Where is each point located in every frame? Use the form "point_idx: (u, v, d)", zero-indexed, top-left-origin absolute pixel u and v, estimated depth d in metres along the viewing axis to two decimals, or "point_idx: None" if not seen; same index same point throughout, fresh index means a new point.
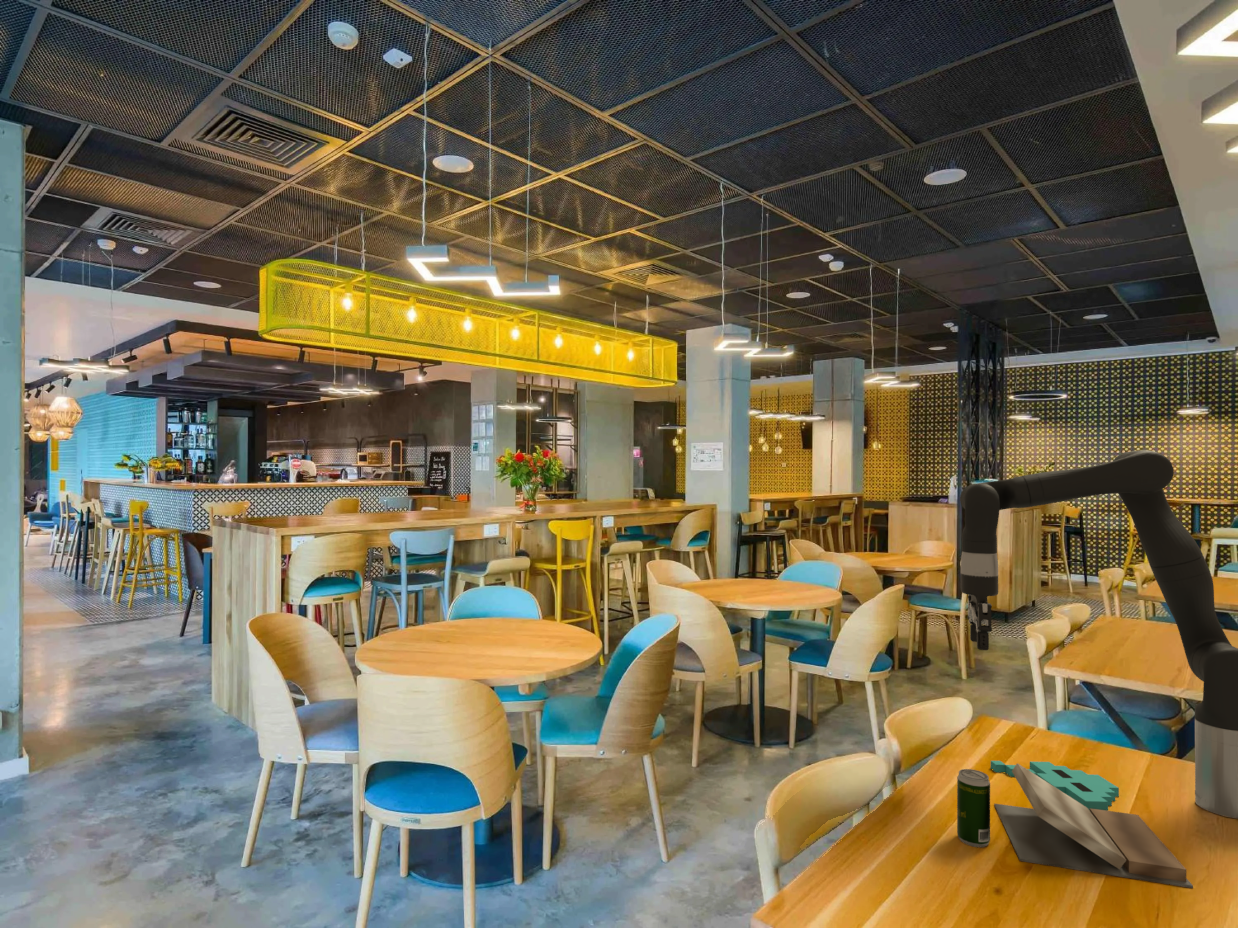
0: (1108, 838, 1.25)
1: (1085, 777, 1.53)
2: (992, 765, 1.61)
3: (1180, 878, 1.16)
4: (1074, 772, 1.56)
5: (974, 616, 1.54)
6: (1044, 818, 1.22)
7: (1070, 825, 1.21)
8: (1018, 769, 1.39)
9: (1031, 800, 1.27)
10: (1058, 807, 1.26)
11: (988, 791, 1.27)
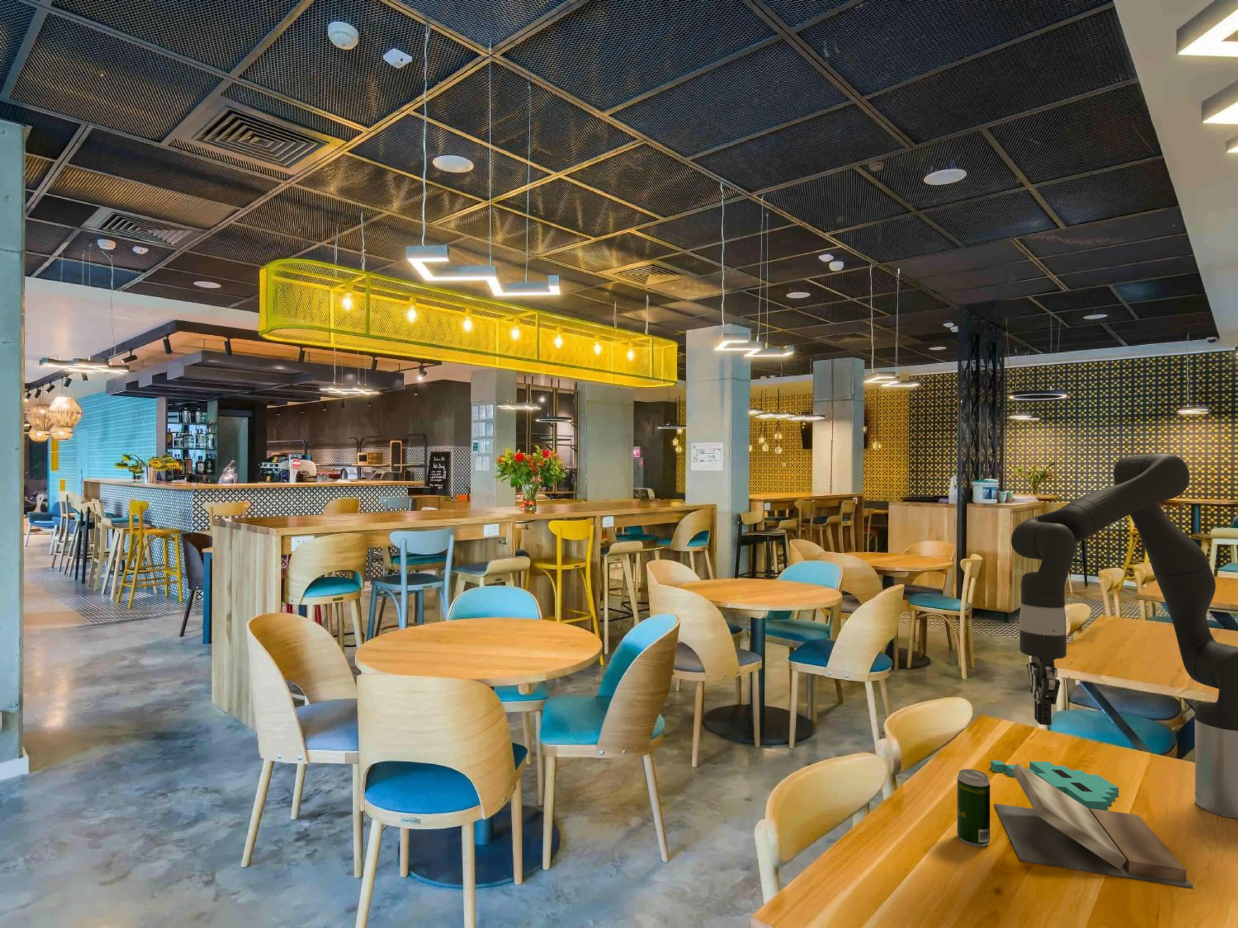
0: (1108, 838, 1.25)
1: (1085, 777, 1.53)
2: (992, 765, 1.61)
3: (1180, 878, 1.16)
4: (1074, 772, 1.56)
5: (1036, 685, 1.30)
6: (1044, 818, 1.22)
7: (1070, 825, 1.21)
8: (1018, 769, 1.39)
9: (1031, 800, 1.27)
10: (1058, 807, 1.26)
11: (988, 791, 1.27)
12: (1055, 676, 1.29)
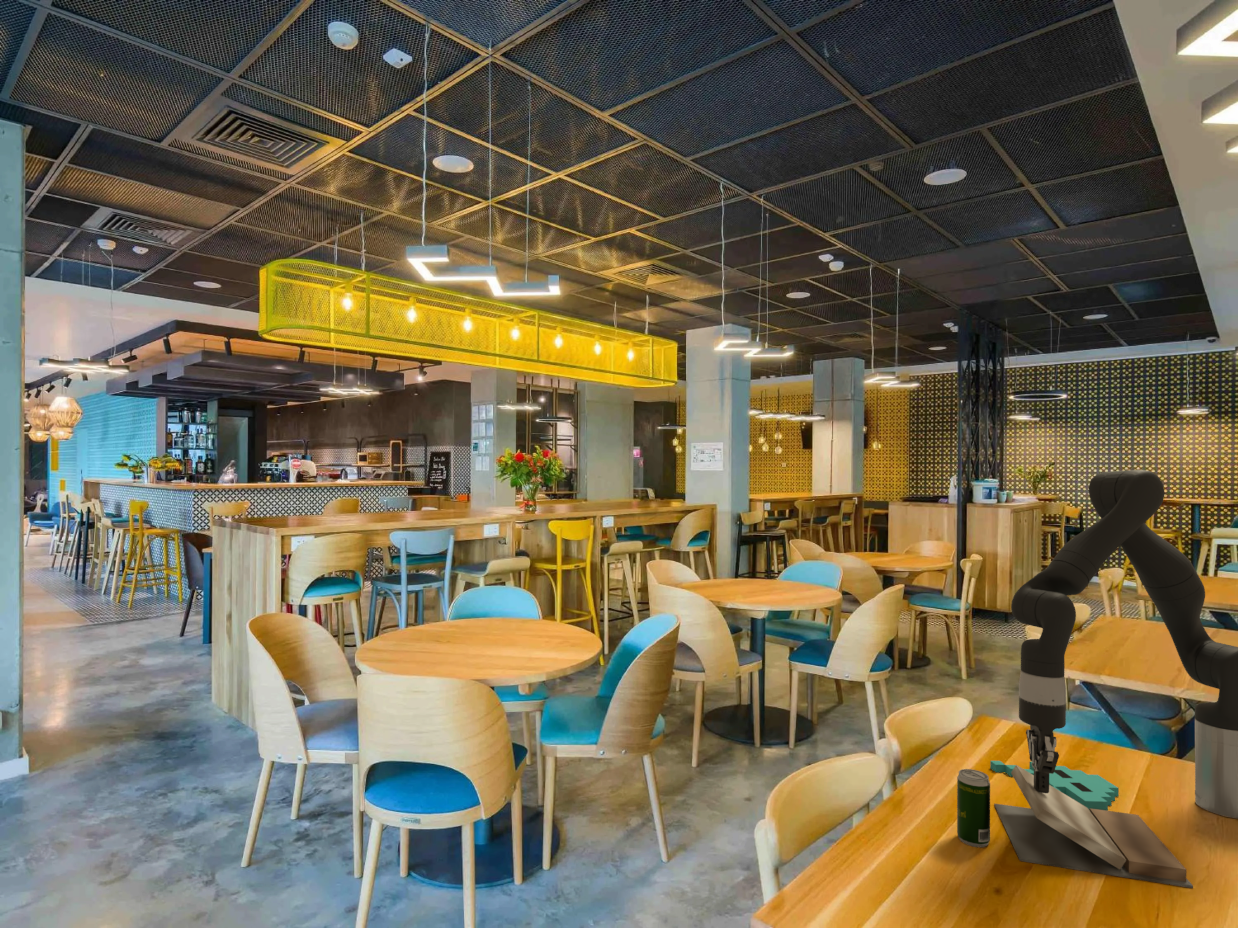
0: (1108, 838, 1.25)
1: (1085, 777, 1.53)
2: (992, 765, 1.61)
3: (1180, 878, 1.16)
4: (1074, 772, 1.56)
5: (1034, 754, 1.30)
6: (1043, 820, 1.22)
7: (1069, 826, 1.21)
8: (1017, 771, 1.39)
9: (1030, 802, 1.27)
10: (1057, 808, 1.26)
11: (988, 791, 1.27)
12: (1054, 746, 1.29)
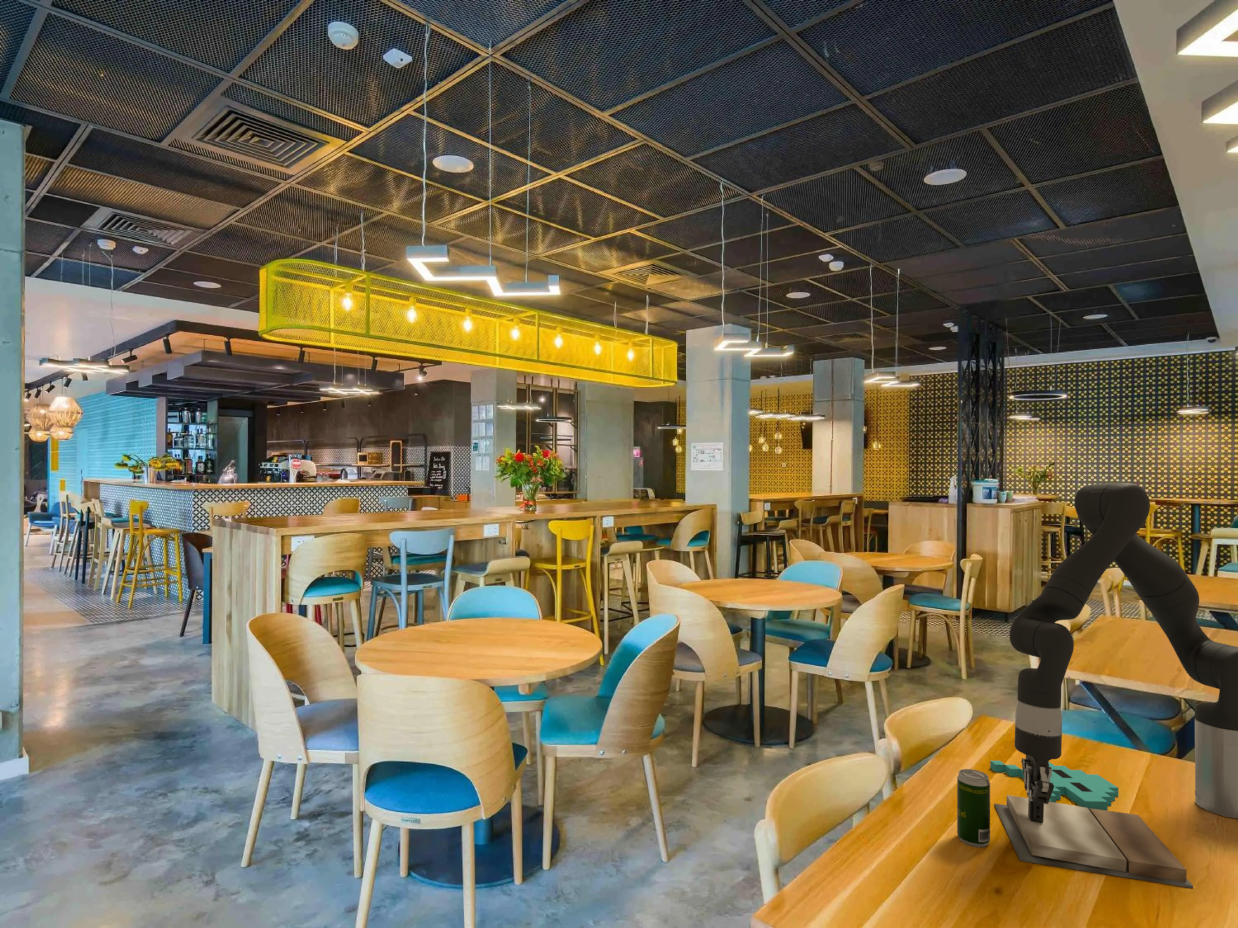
0: (1108, 840, 1.25)
1: (1085, 777, 1.53)
2: (992, 765, 1.61)
3: (1180, 878, 1.16)
4: (1074, 772, 1.56)
5: (1029, 784, 1.30)
6: (1038, 854, 1.22)
7: (1063, 850, 1.21)
8: (1009, 802, 1.39)
9: (1024, 837, 1.27)
10: (1050, 832, 1.26)
11: (988, 791, 1.27)
12: (1049, 776, 1.29)
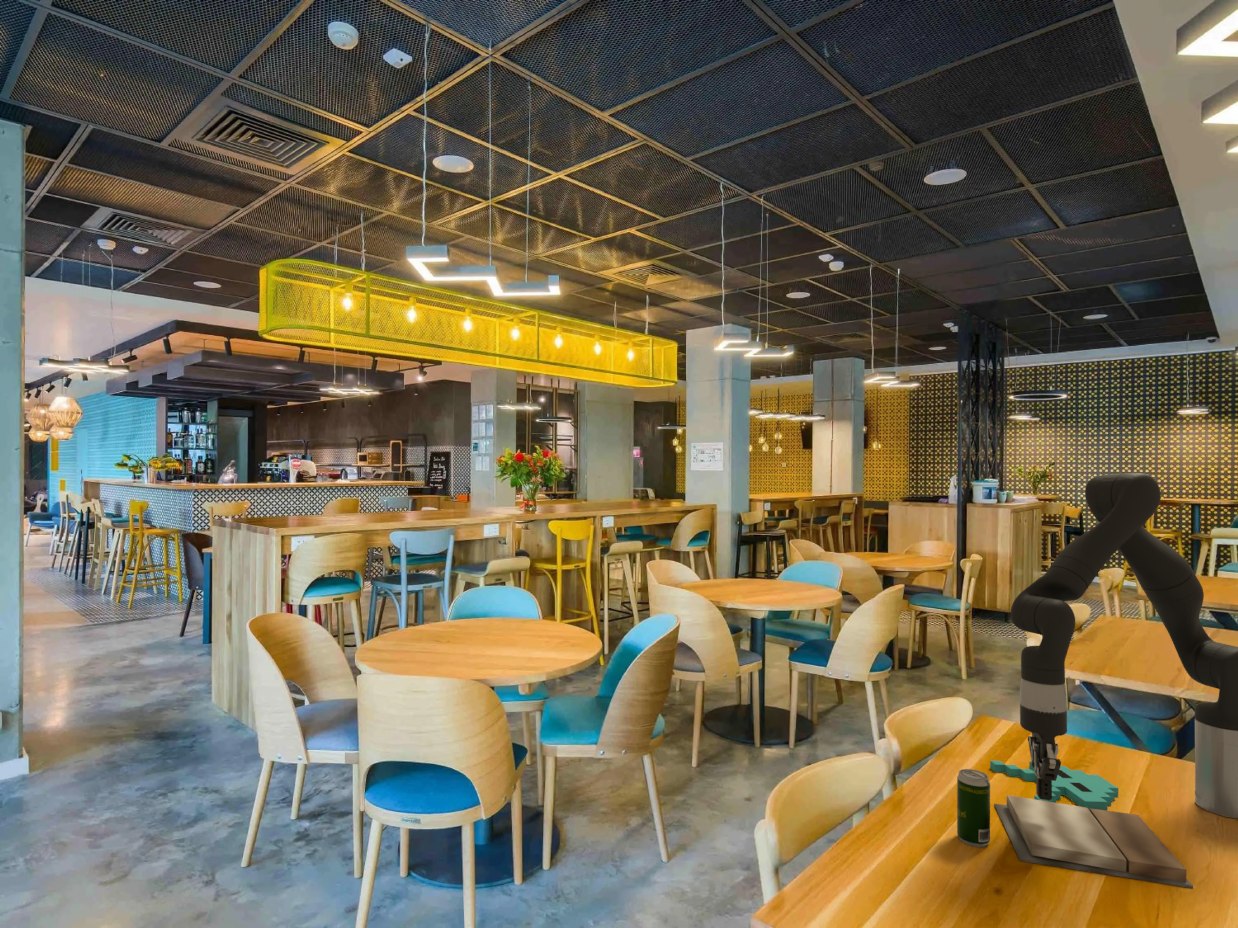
0: (1108, 840, 1.25)
1: (1085, 777, 1.53)
2: (992, 765, 1.61)
3: (1180, 878, 1.16)
4: (1074, 772, 1.56)
5: (1036, 761, 1.30)
6: (1038, 854, 1.22)
7: (1063, 850, 1.21)
8: (1009, 803, 1.39)
9: (1024, 837, 1.27)
10: (1050, 832, 1.26)
11: (988, 791, 1.27)
12: (1056, 753, 1.29)
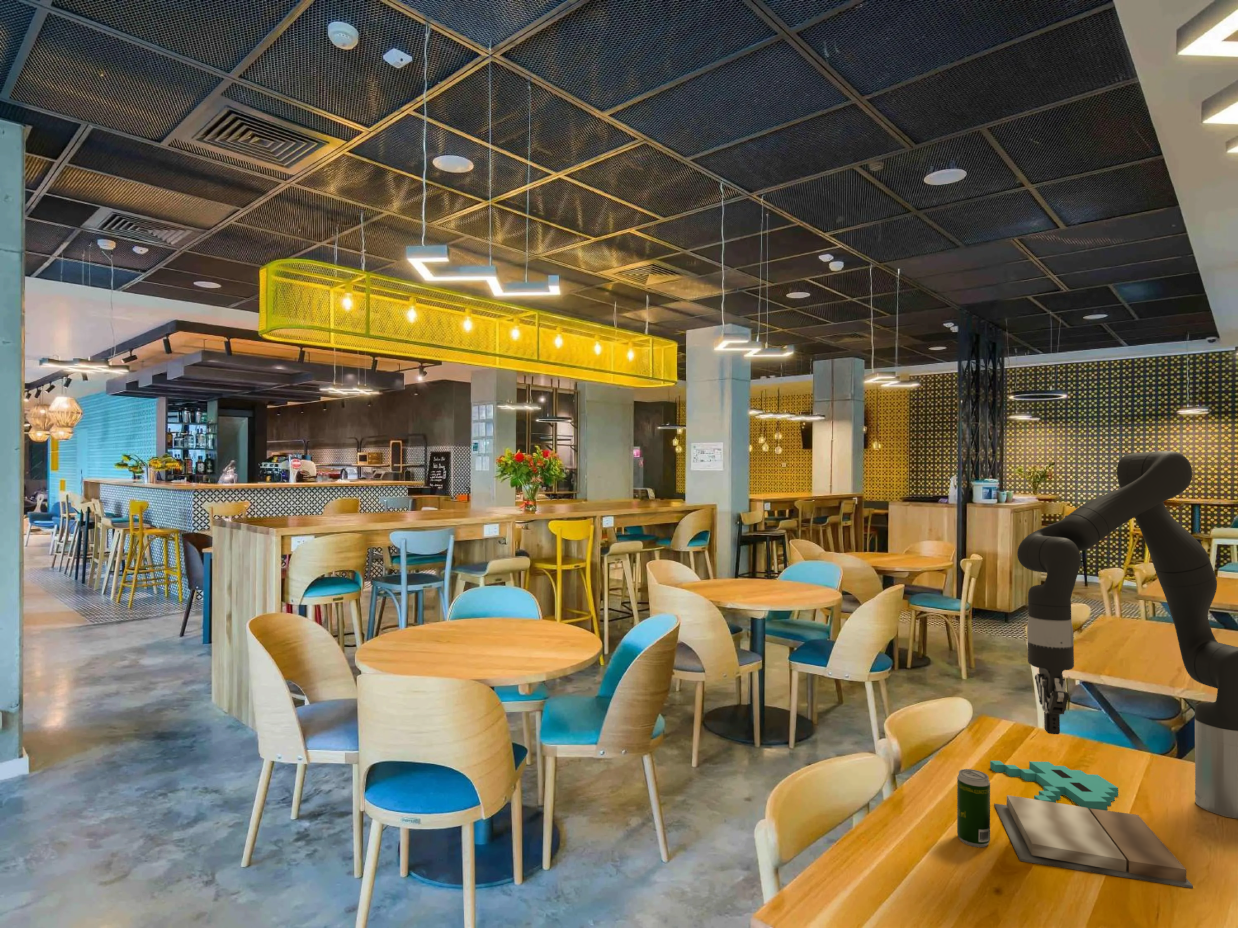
0: (1108, 840, 1.25)
1: (1084, 777, 1.53)
2: (991, 765, 1.61)
3: (1180, 878, 1.16)
4: (1074, 772, 1.56)
5: (1044, 696, 1.33)
6: (1038, 854, 1.22)
7: (1063, 850, 1.21)
8: (1009, 803, 1.39)
9: (1024, 837, 1.27)
10: (1050, 832, 1.26)
11: (988, 791, 1.27)
12: (1063, 687, 1.31)
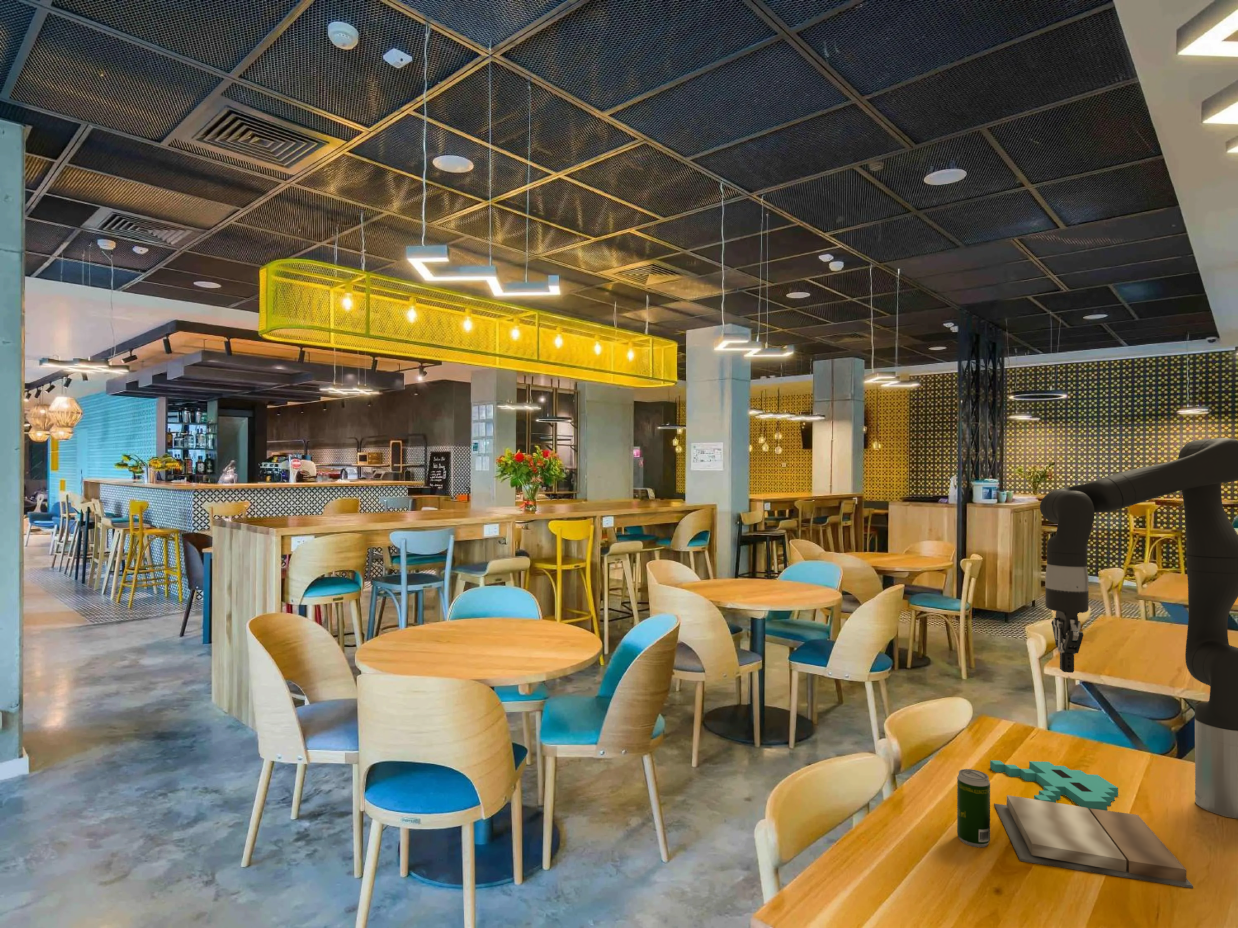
0: (1108, 840, 1.25)
1: (1084, 777, 1.53)
2: (991, 765, 1.61)
3: (1180, 878, 1.16)
4: (1074, 772, 1.56)
5: (1060, 637, 1.44)
6: (1038, 854, 1.22)
7: (1063, 850, 1.21)
8: (1009, 803, 1.39)
9: (1024, 837, 1.27)
10: (1050, 832, 1.26)
11: (988, 791, 1.27)
12: (1078, 629, 1.43)
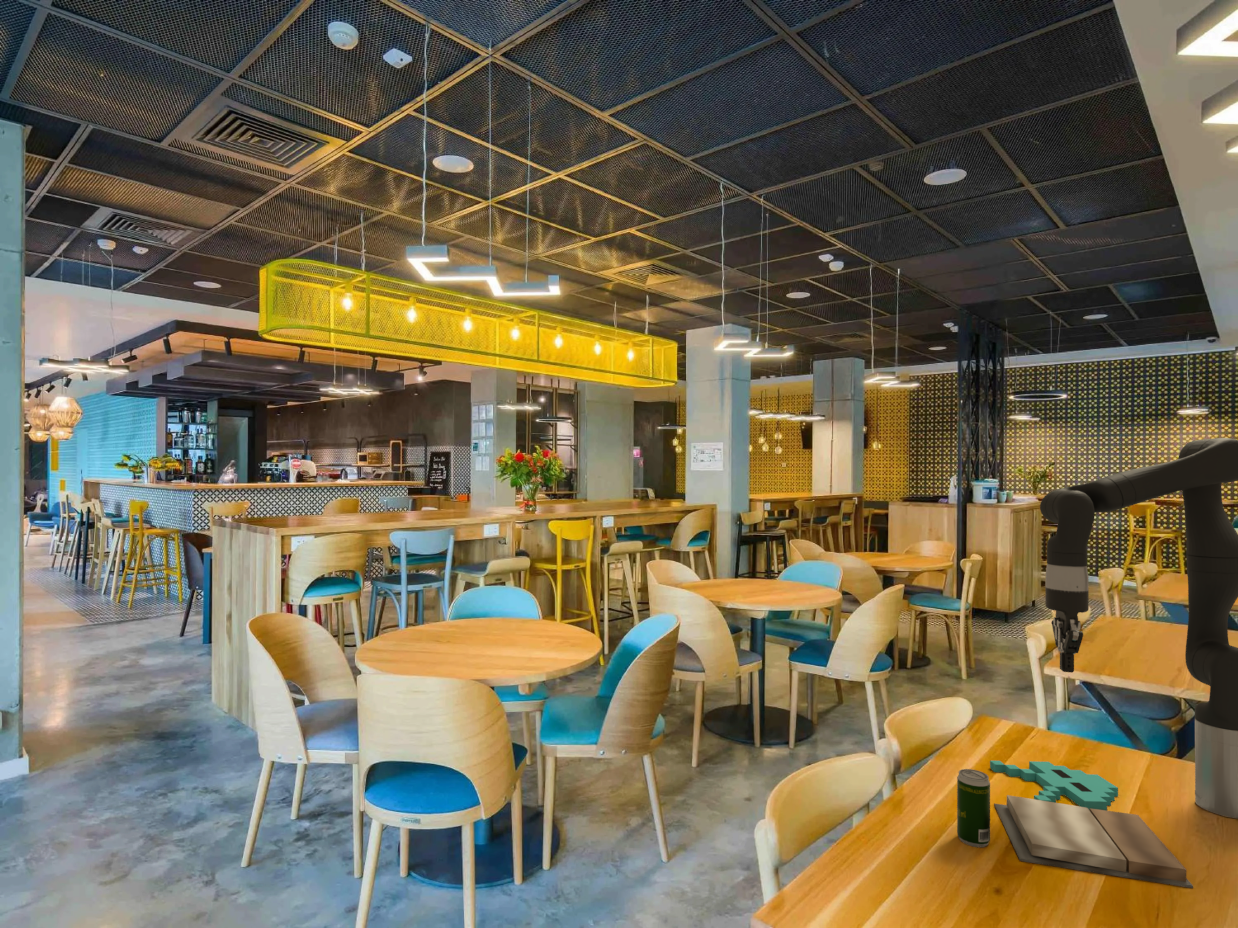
0: (1108, 840, 1.25)
1: (1084, 777, 1.53)
2: (991, 765, 1.61)
3: (1180, 878, 1.16)
4: (1074, 772, 1.56)
5: (1060, 637, 1.44)
6: (1038, 854, 1.22)
7: (1063, 850, 1.21)
8: (1009, 803, 1.39)
9: (1024, 837, 1.27)
10: (1050, 832, 1.26)
11: (988, 791, 1.27)
12: (1078, 629, 1.43)
